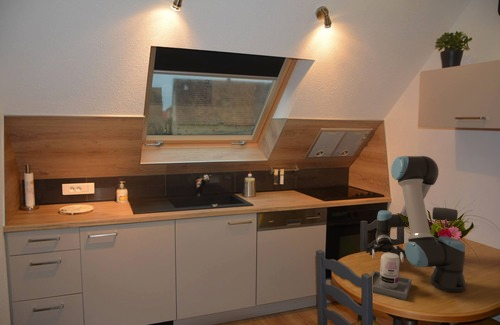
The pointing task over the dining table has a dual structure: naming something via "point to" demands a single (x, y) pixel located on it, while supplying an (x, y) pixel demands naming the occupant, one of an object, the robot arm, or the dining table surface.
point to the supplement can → (389, 270)
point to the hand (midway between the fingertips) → (388, 258)
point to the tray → (398, 292)
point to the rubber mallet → (444, 214)
